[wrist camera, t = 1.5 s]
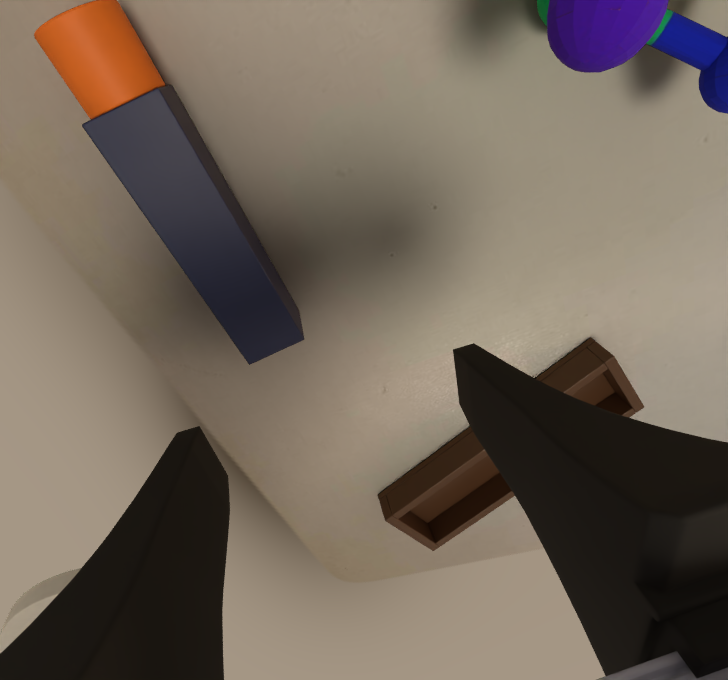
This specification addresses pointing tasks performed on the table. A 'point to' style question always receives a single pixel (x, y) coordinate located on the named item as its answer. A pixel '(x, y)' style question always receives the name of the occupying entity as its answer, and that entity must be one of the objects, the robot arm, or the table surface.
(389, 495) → the pen tray
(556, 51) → the decorative model
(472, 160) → the table surface
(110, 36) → the marker
